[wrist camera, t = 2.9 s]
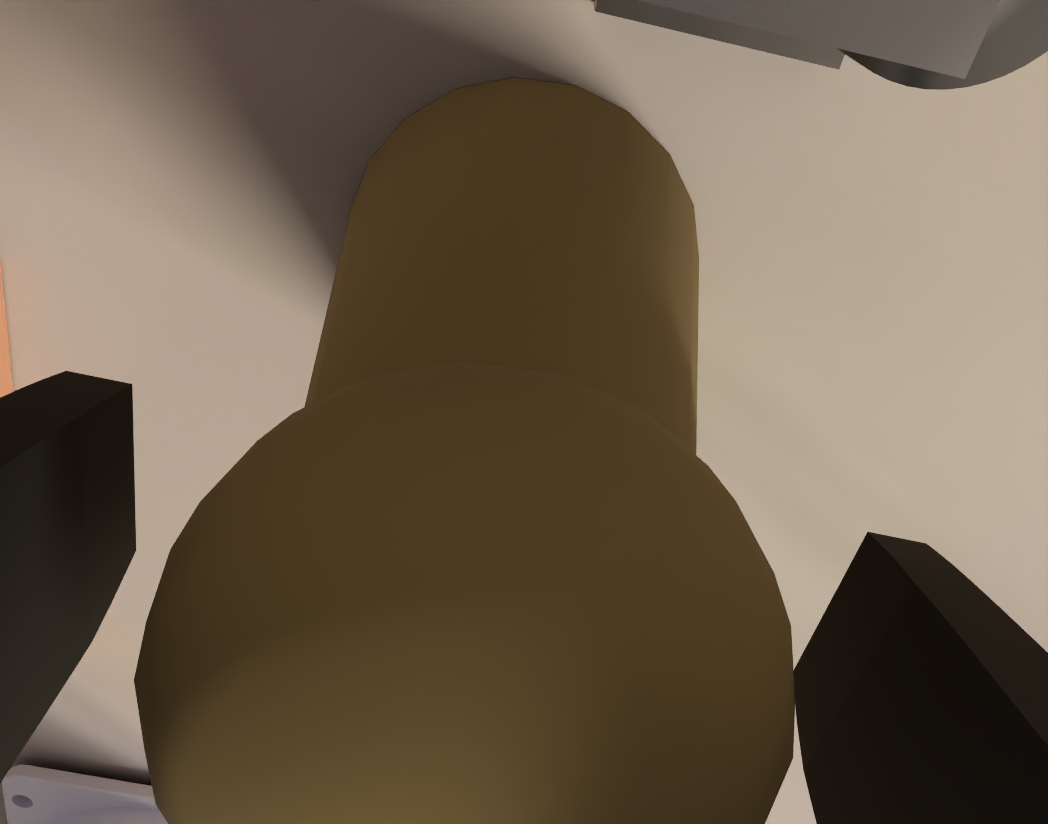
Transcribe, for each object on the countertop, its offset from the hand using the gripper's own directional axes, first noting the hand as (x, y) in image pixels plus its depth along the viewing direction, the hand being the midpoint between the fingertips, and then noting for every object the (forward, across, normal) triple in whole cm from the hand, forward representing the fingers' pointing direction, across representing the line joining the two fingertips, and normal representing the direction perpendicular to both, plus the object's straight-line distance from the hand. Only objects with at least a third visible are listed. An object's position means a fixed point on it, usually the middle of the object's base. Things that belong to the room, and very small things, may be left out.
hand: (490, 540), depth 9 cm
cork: (+8, 0, 0) cm, 8 cm away
